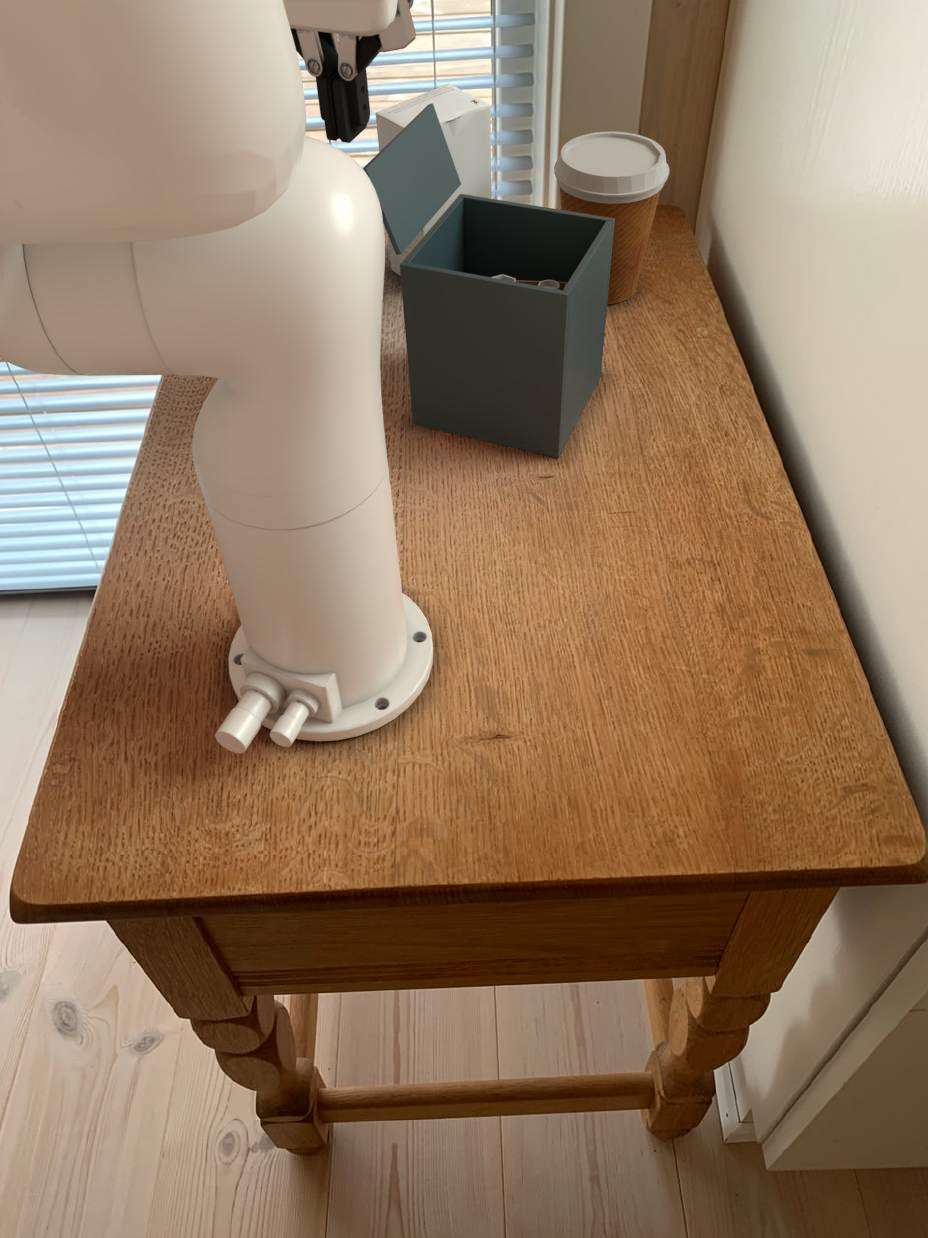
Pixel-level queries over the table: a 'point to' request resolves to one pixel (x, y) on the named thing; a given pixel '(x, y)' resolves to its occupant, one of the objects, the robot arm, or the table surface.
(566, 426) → the carton
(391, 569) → the robot arm
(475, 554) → the table surface
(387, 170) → the flap
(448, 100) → the cosmetic box
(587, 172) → the disposable coffee cup
